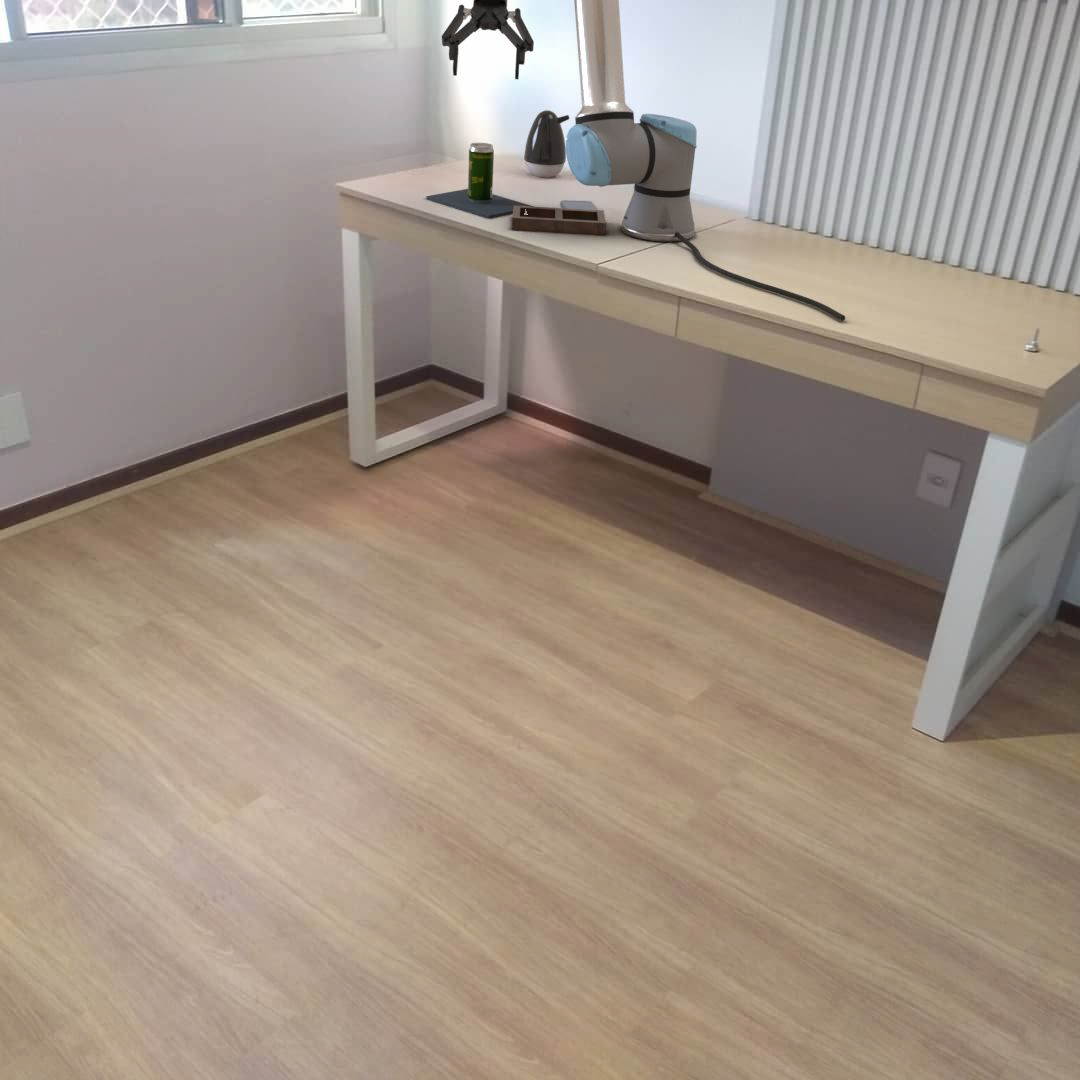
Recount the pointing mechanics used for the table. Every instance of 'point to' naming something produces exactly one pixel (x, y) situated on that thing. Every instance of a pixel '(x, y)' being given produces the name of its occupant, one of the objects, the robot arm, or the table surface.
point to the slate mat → (488, 210)
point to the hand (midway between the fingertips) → (485, 73)
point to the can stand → (558, 220)
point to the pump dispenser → (546, 145)
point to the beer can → (480, 173)
